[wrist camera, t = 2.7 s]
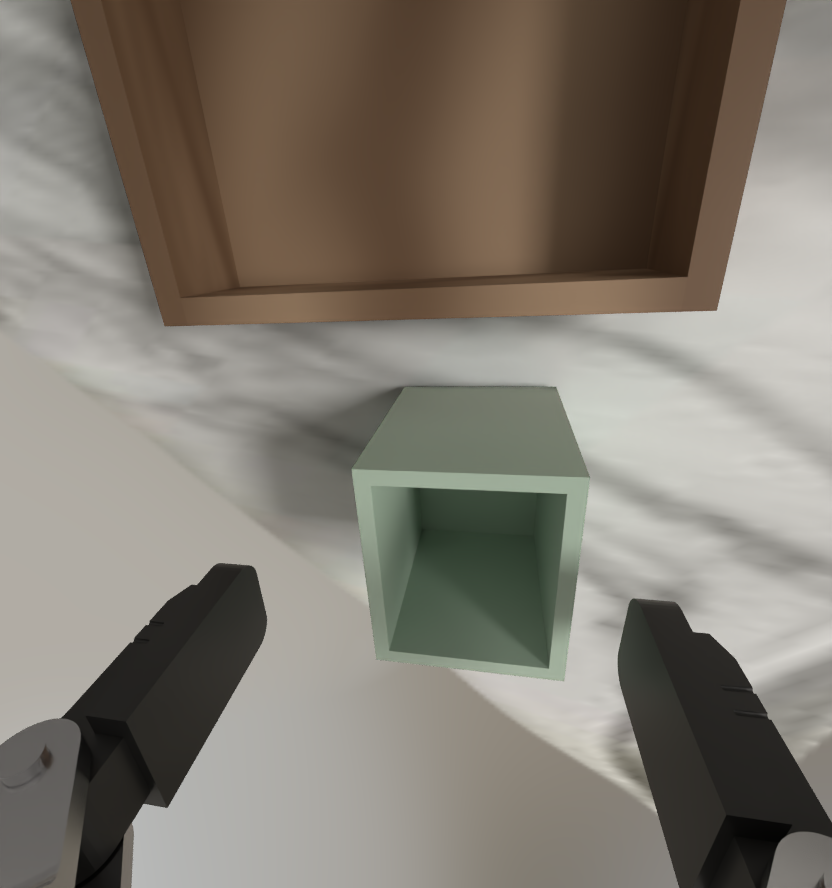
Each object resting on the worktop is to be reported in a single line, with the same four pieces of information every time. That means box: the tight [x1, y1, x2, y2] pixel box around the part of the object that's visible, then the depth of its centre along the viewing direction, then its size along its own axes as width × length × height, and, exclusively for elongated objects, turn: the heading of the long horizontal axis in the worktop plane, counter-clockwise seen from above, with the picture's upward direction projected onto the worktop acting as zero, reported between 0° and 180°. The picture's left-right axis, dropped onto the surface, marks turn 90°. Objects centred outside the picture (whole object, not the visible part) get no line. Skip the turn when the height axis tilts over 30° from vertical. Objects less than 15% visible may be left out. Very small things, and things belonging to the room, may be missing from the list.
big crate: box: [71, 0, 787, 326], centre depth 10 cm, size 13×10×4 cm
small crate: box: [351, 387, 590, 681], centre depth 13 cm, size 5×6×6 cm
